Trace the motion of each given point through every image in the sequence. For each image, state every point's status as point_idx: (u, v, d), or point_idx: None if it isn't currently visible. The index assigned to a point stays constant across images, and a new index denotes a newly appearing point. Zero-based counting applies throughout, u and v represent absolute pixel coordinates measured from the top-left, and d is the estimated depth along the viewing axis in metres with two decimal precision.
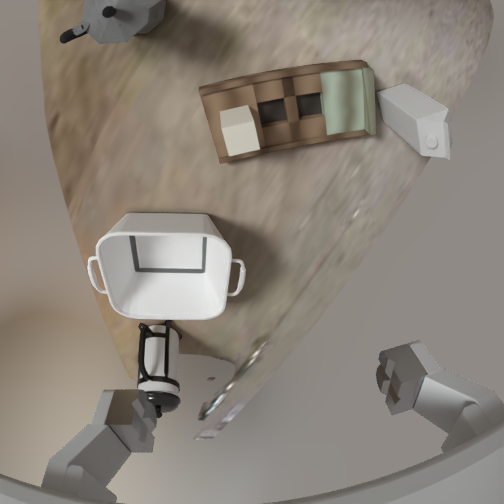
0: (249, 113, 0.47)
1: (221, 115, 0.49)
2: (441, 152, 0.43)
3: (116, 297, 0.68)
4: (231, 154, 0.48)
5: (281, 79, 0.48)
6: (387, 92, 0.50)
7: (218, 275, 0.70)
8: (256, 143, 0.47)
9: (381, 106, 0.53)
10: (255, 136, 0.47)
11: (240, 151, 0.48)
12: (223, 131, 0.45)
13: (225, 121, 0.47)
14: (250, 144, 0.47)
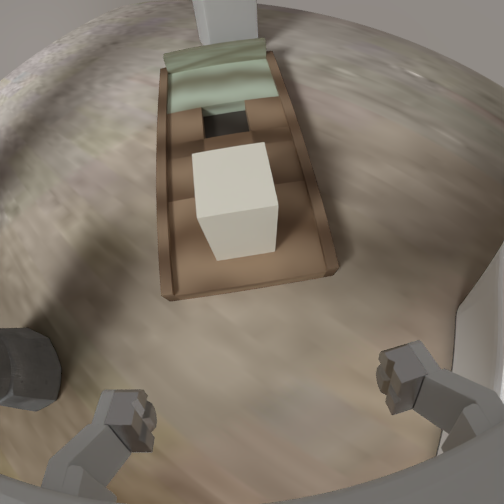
0: None
1: (212, 249, 0.25)
2: None
3: None
4: (271, 200, 0.19)
5: (171, 159, 0.31)
6: None
7: None
8: (248, 148, 0.21)
9: None
10: (229, 150, 0.21)
11: (266, 179, 0.20)
12: (205, 214, 0.19)
13: None
14: (249, 158, 0.20)
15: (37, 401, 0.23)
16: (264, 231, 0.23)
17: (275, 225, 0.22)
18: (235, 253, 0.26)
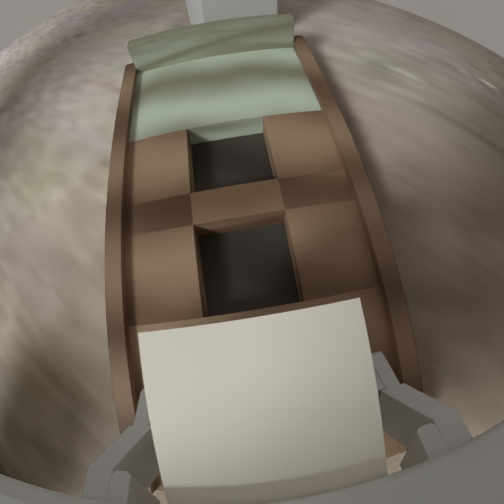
0: None
1: None
2: None
3: None
4: None
5: (132, 235, 0.17)
6: None
7: None
8: (314, 325, 0.07)
9: None
10: (254, 330, 0.07)
11: (365, 434, 0.06)
12: None
13: None
14: (318, 364, 0.06)
15: None
16: None
17: None
18: None
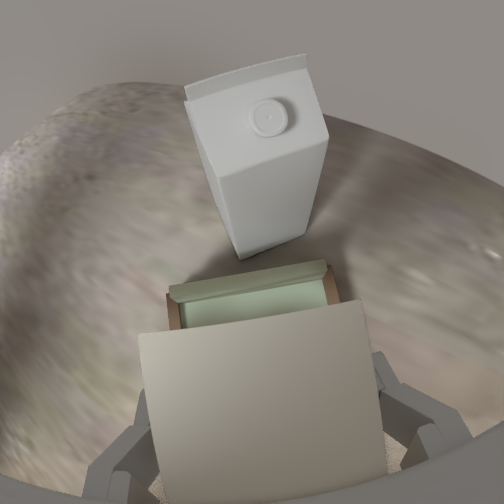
0: None
1: None
2: (295, 84, 0.16)
3: None
4: None
5: None
6: (231, 239, 0.30)
7: None
8: (314, 326, 0.07)
9: (267, 246, 0.30)
10: (254, 331, 0.07)
11: (365, 435, 0.06)
12: None
13: None
14: (319, 365, 0.06)
15: None
16: None
17: None
18: None
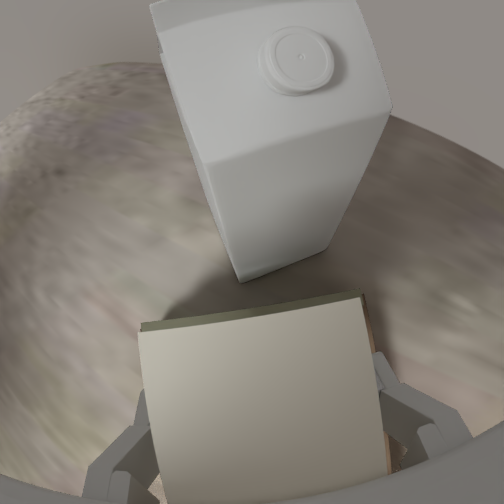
0: None
1: None
2: (339, 18, 0.08)
3: None
4: None
5: None
6: (229, 256, 0.22)
7: None
8: (314, 324, 0.07)
9: (277, 265, 0.22)
10: (254, 330, 0.07)
11: (365, 434, 0.06)
12: None
13: None
14: (318, 364, 0.06)
15: None
16: None
17: None
18: None
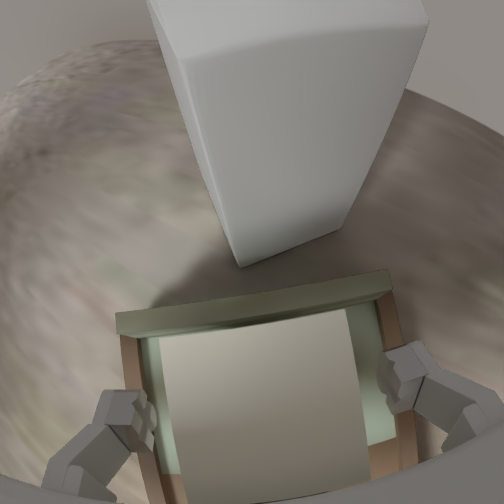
0: None
1: None
2: None
3: None
4: (357, 471, 0.07)
5: None
6: (226, 234, 0.18)
7: None
8: (306, 331, 0.08)
9: (284, 246, 0.19)
10: (256, 335, 0.08)
11: (349, 422, 0.07)
12: (206, 501, 0.06)
13: None
14: (309, 364, 0.08)
15: None
16: None
17: None
18: None
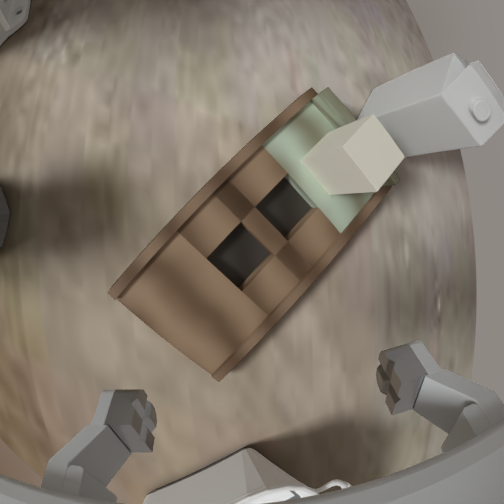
0: (350, 123, 0.28)
1: (311, 155, 0.30)
2: (498, 116, 0.21)
3: None
4: (377, 185, 0.25)
5: (216, 196, 0.30)
6: (367, 112, 0.34)
7: None
8: (396, 149, 0.26)
9: None
10: (389, 138, 0.25)
11: (386, 174, 0.25)
12: (347, 150, 0.24)
13: (331, 146, 0.27)
14: (391, 154, 0.25)
15: None
16: (348, 186, 0.29)
17: (357, 192, 0.28)
18: (315, 171, 0.31)
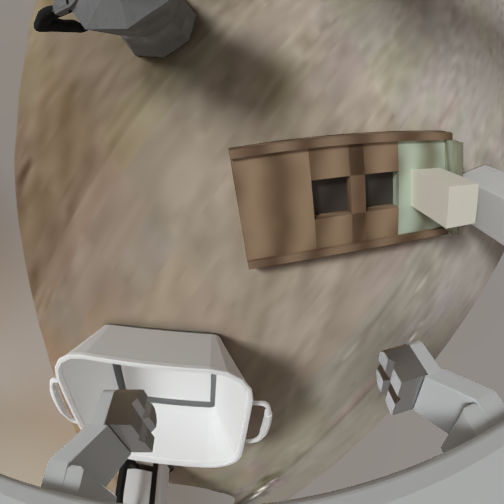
0: (459, 176, 0.32)
1: (421, 173, 0.35)
2: None
3: None
4: (449, 225, 0.31)
5: (348, 147, 0.35)
6: (470, 176, 0.37)
7: (232, 417, 0.44)
8: (474, 214, 0.31)
9: None
10: (475, 204, 0.30)
11: (458, 223, 0.31)
12: (450, 190, 0.29)
13: (440, 179, 0.31)
14: (469, 215, 0.31)
15: (128, 45, 0.28)
16: (429, 210, 0.34)
17: (432, 218, 0.34)
18: (415, 184, 0.36)
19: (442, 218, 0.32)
